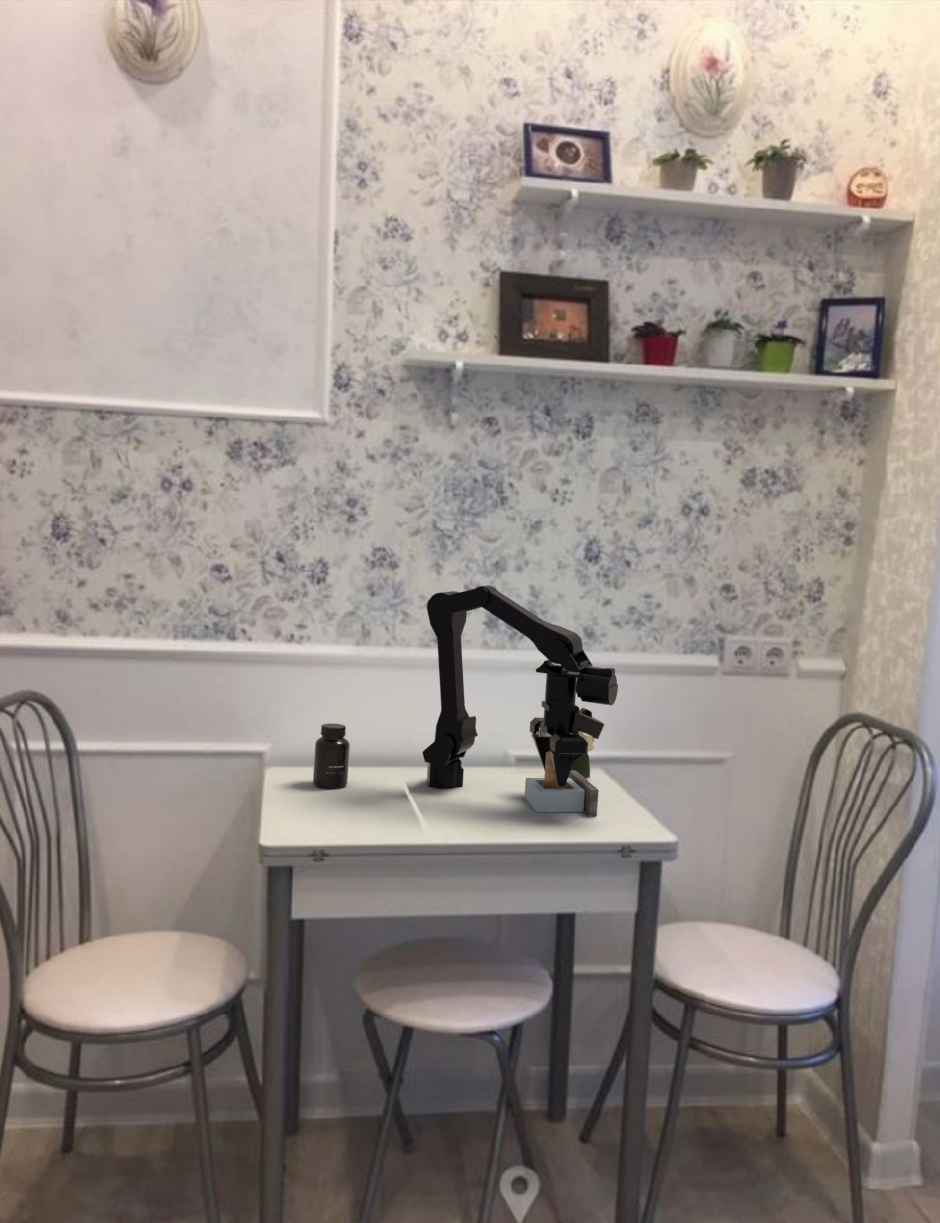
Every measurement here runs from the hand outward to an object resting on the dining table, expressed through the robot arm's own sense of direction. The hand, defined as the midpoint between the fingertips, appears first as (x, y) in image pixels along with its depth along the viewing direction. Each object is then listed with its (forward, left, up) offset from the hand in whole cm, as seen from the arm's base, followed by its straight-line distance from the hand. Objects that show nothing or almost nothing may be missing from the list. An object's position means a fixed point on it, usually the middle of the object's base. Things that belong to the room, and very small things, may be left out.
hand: (554, 779), depth 194 cm
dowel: (0, 0, -5) cm, 5 cm away
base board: (-3, 0, -6) cm, 7 cm away
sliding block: (0, 0, -5) cm, 5 cm away
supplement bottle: (-41, +18, -6) cm, 45 cm away
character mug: (+11, +22, -6) cm, 25 cm away
